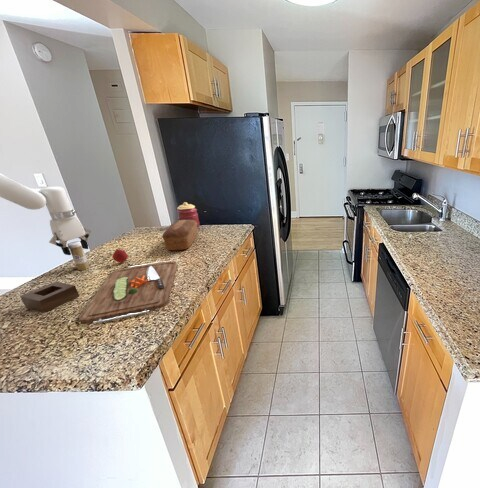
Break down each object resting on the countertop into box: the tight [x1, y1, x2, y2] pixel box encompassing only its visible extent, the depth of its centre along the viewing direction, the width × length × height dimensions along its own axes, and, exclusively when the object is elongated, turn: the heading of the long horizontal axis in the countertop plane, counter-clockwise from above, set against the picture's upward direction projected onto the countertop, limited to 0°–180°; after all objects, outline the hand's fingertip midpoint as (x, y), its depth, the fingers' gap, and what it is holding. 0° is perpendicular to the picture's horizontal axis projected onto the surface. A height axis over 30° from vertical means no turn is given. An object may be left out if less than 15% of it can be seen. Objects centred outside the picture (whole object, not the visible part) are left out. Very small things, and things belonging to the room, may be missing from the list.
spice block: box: [19, 281, 80, 313], centre depth 99 cm, size 11×11×5 cm
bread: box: [162, 219, 199, 251], centre depth 154 cm, size 14×28×12 cm, turn 12°
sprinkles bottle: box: [66, 240, 90, 271], centre depth 123 cm, size 5×5×14 cm
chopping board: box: [78, 260, 178, 325], centre depth 109 cm, size 45×27×3 cm, turn 22°
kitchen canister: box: [176, 201, 201, 228], centre depth 183 cm, size 13×13×18 cm
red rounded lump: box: [112, 248, 129, 264], centre depth 130 cm, size 6×6×8 cm
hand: (77, 251), depth 122 cm, fingers open, 6 cm apart
